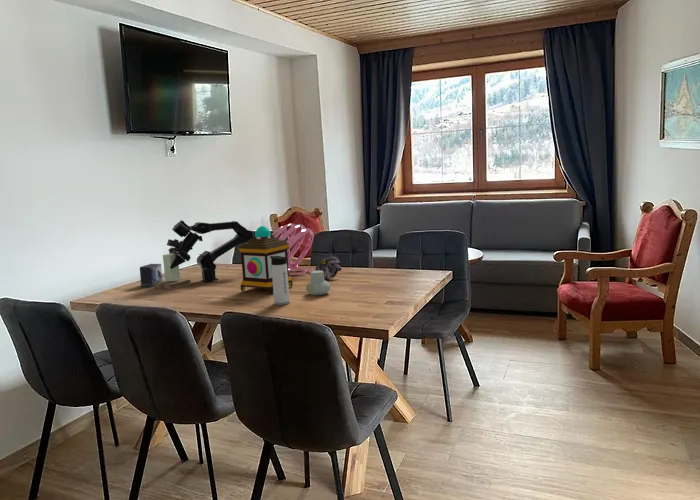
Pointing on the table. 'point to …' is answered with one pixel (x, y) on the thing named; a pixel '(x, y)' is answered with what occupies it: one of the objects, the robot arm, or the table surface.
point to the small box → (150, 275)
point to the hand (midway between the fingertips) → (168, 267)
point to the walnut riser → (172, 284)
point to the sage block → (170, 273)
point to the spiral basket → (291, 241)
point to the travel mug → (280, 280)
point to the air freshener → (317, 284)
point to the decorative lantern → (261, 259)
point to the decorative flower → (329, 267)
